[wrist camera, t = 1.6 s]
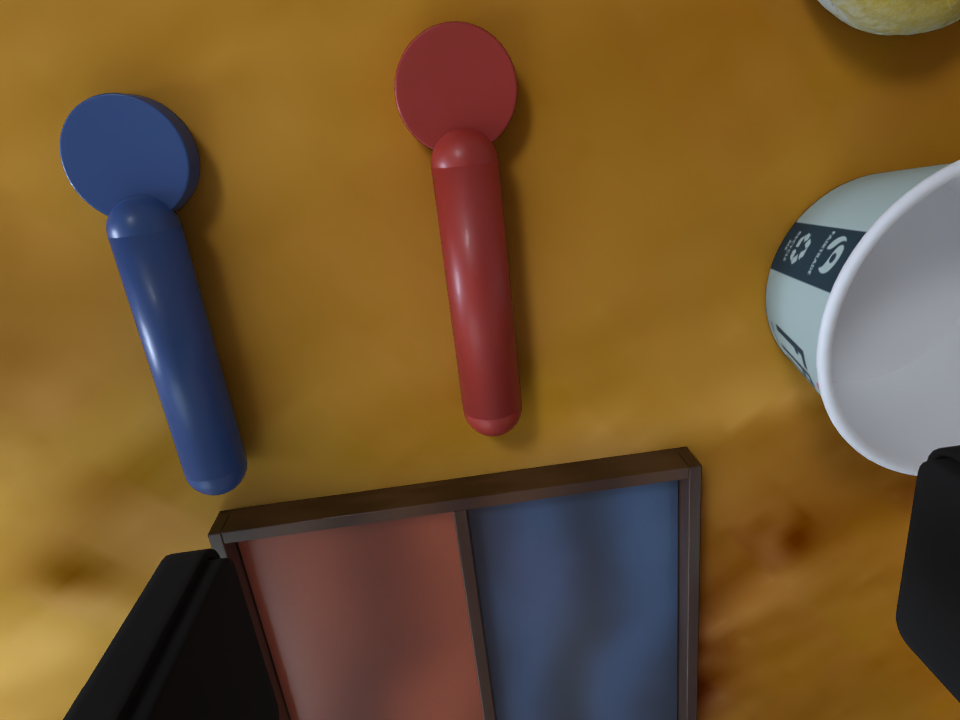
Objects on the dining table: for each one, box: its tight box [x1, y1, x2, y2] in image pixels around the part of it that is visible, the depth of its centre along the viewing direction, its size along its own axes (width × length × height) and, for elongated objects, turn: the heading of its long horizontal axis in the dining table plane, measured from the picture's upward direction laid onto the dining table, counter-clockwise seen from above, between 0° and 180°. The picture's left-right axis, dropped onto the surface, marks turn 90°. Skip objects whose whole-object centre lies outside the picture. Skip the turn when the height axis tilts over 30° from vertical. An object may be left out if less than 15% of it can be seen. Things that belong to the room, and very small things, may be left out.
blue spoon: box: [60, 93, 247, 495], centre depth 25 cm, size 16×4×2 cm, turn 6°
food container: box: [766, 160, 960, 476], centre depth 25 cm, size 12×12×6 cm
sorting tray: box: [208, 447, 702, 720], centre depth 32 cm, size 22×20×2 cm
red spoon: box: [394, 22, 522, 436], centre depth 25 cm, size 16×4×2 cm, turn 6°
